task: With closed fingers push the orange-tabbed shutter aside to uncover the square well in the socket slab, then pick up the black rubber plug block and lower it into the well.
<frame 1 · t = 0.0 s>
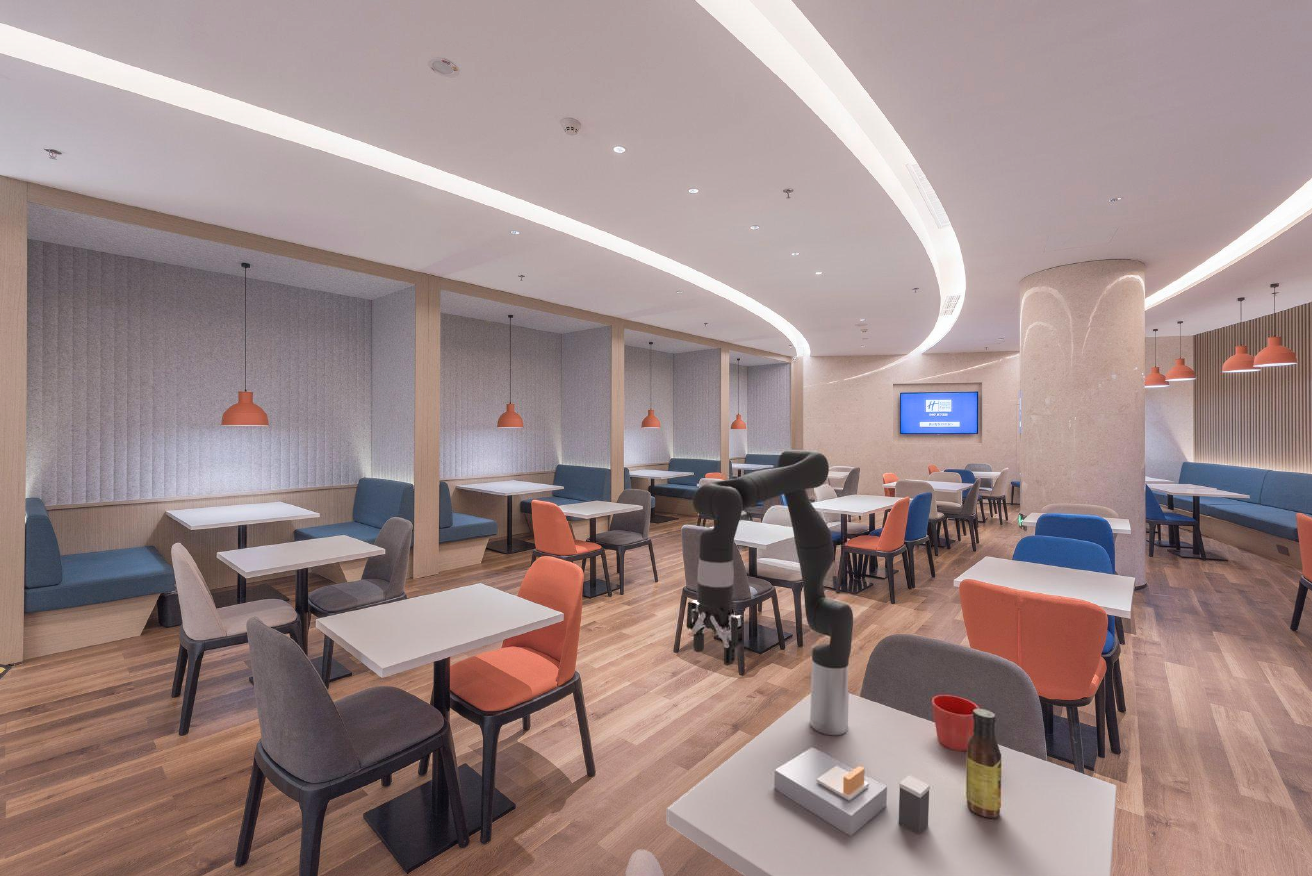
hand: (713, 657, 115), 29 cm above the table, fingers open, 8 cm apart
flower pot: (954, 743, 138), on the table
sauce bottle: (982, 810, 114), on the table
plug: (913, 824, 109), on the table
shutter: (842, 775, 114), point 6 cm above the table, slide at 0.0 cm
socket block: (829, 796, 116), on the table
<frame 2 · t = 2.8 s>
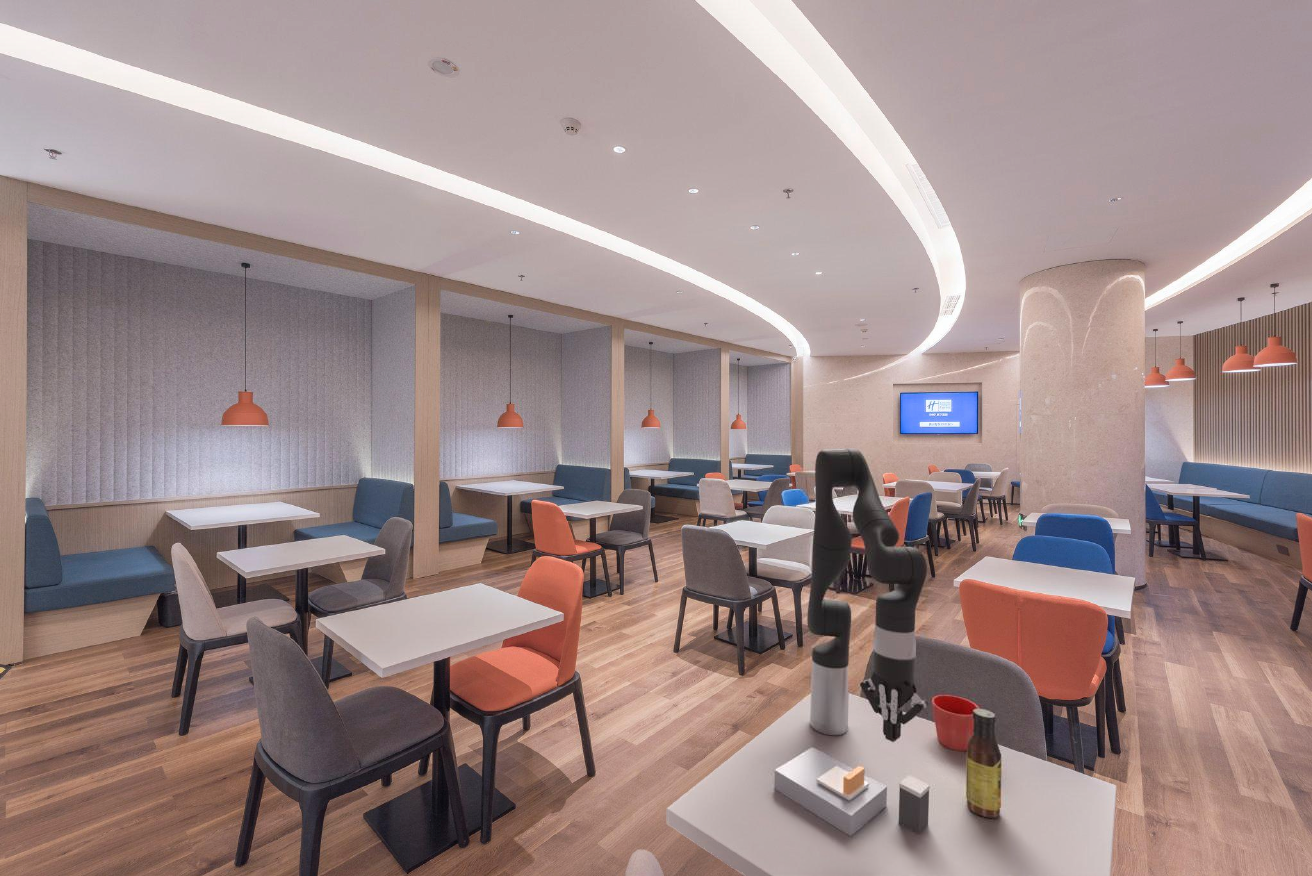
hand: (891, 739, 106), 18 cm above the table, fingers closed
nothing on the table moved.
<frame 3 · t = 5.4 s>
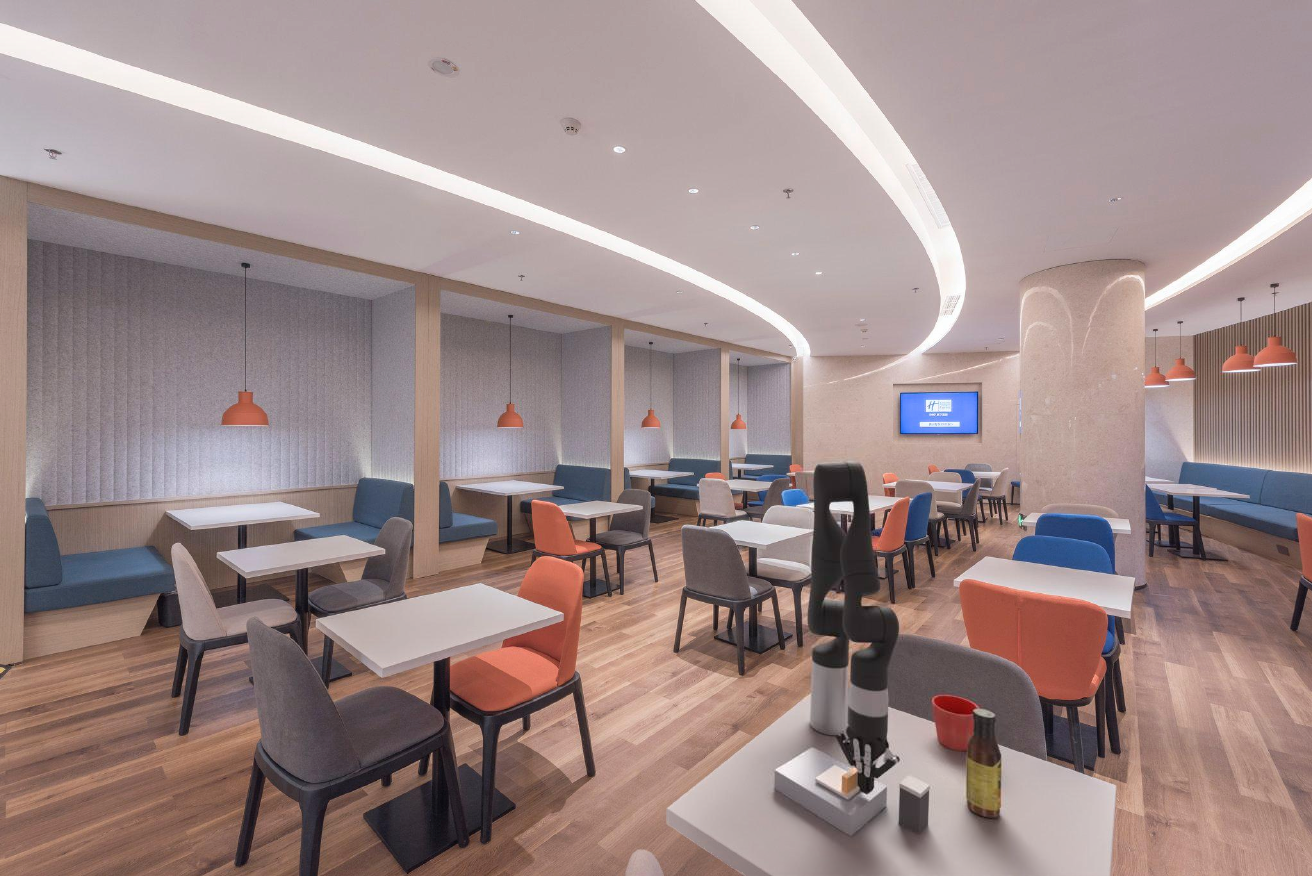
hand: (865, 791, 110), 5 cm above the table, fingers closed
shutter: (841, 774, 114), point 6 cm above the table, slide at 0.4 cm, touching gripper
everything else where it was.
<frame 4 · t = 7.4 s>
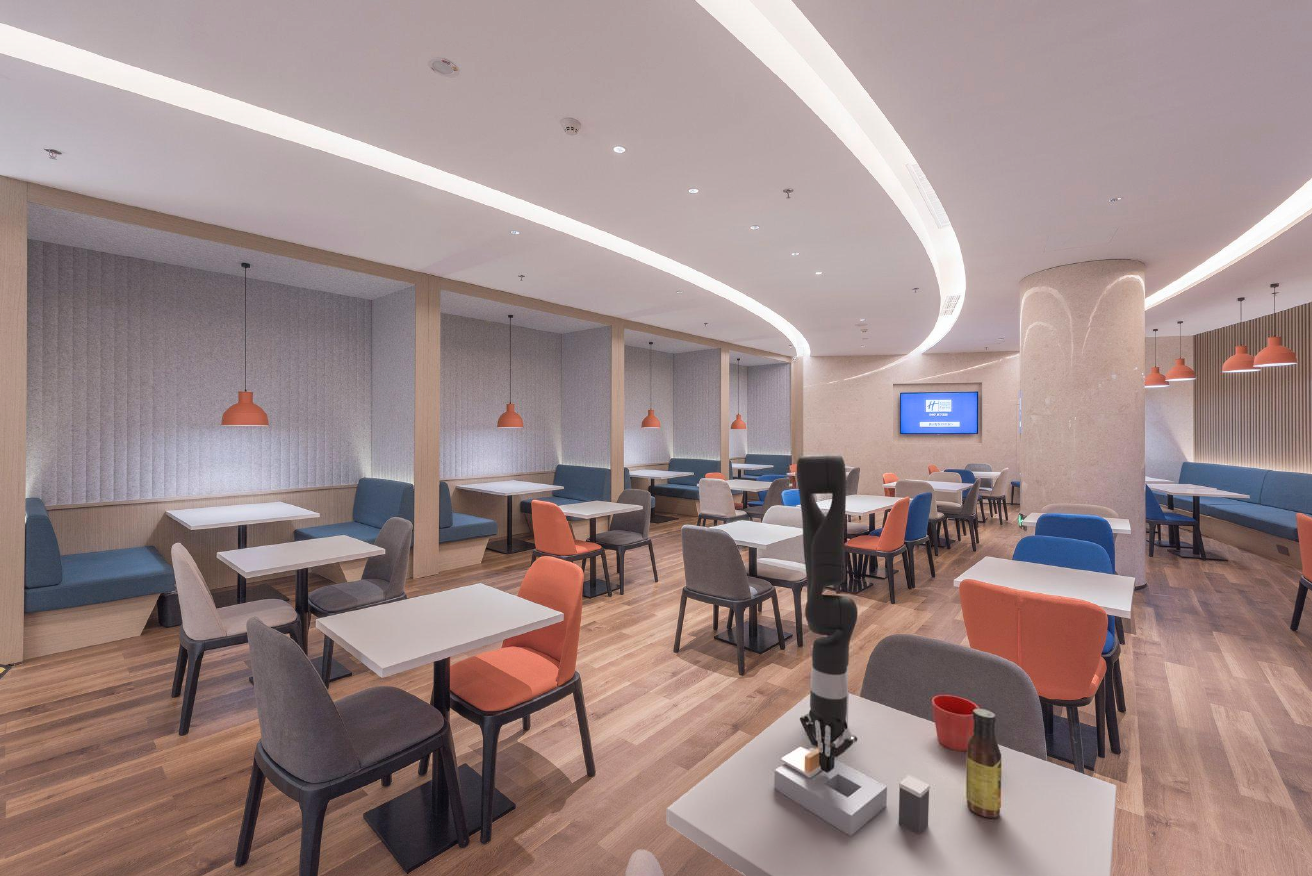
hand: (826, 769, 117), 5 cm above the table, fingers closed
shutter: (805, 754, 121), point 6 cm above the table, slide at 9.1 cm, touching gripper
everything else where it was.
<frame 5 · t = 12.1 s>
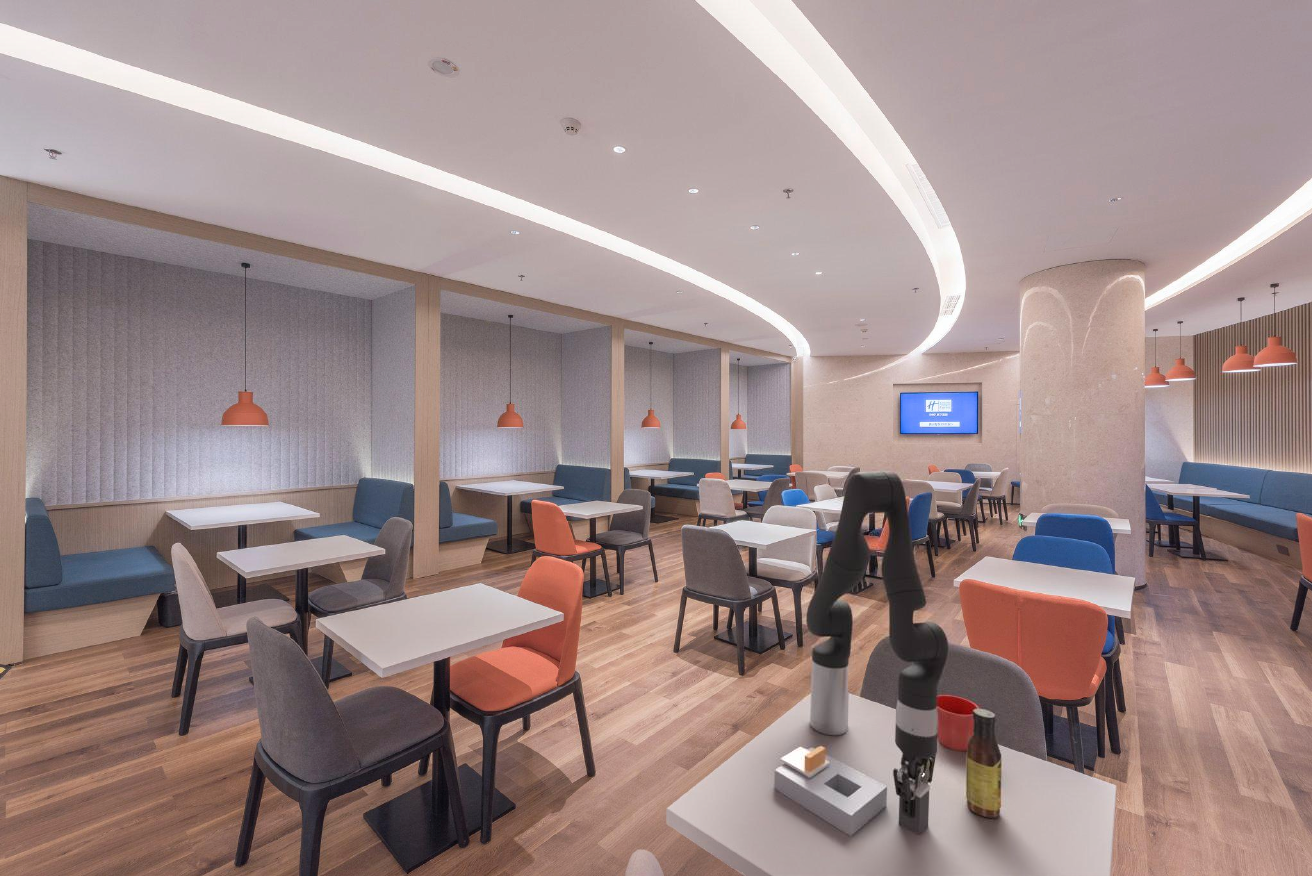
hand: (913, 810, 108), 3 cm above the table, fingers closed on plug, 4 cm apart
plug: (913, 824, 108), on the table, touching gripper
shutter: (805, 754, 121), point 6 cm above the table, slide at 9.2 cm
everything else where it was.
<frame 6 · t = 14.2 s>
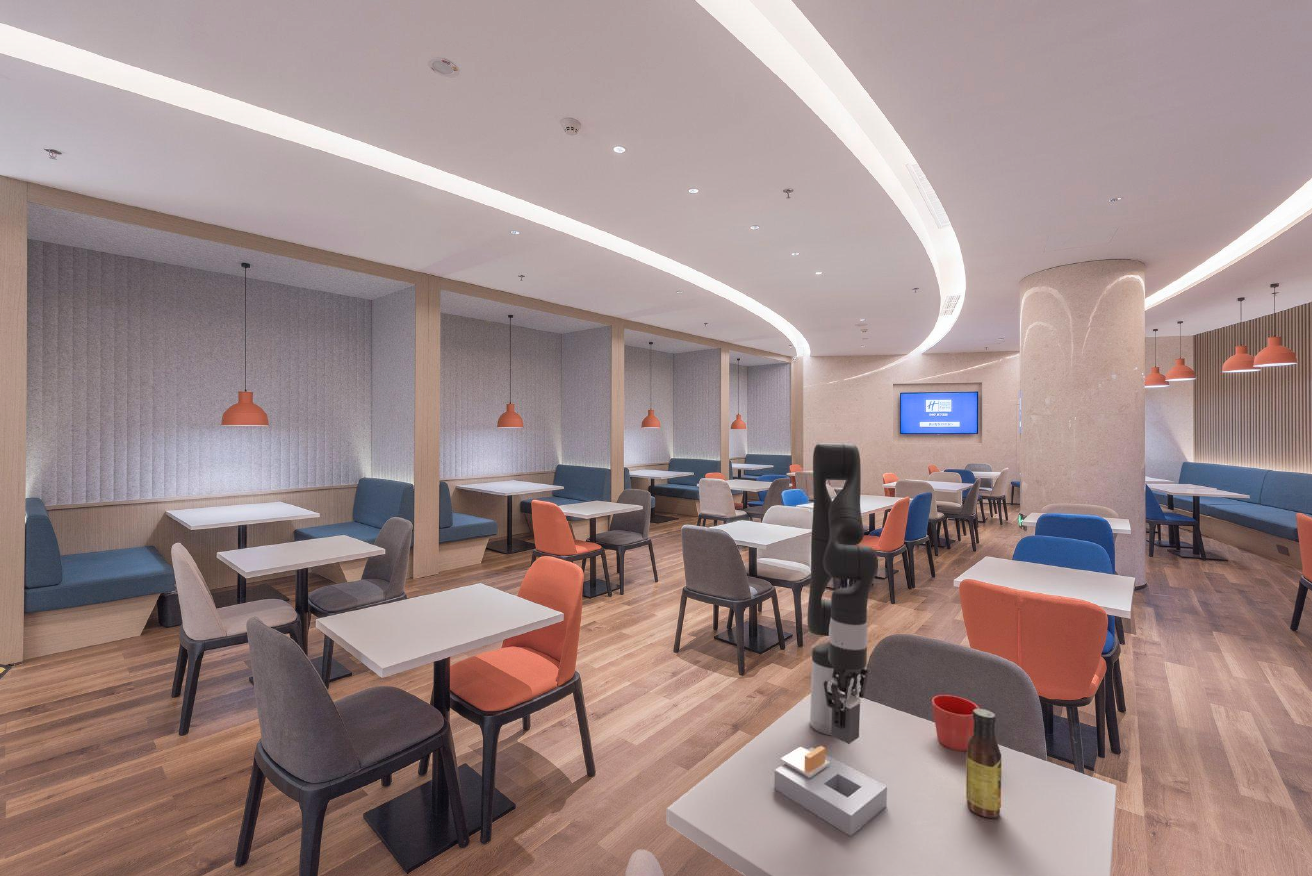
hand: (845, 723, 114), 17 cm above the table, fingers closed on plug, 4 cm apart
plug: (845, 736, 114), point 14 cm above the table, touching gripper
everything else where it was.
when the fingers open (4 cm above the table, at t = 16.4 s): plug drops 1 cm, resting on socket block.
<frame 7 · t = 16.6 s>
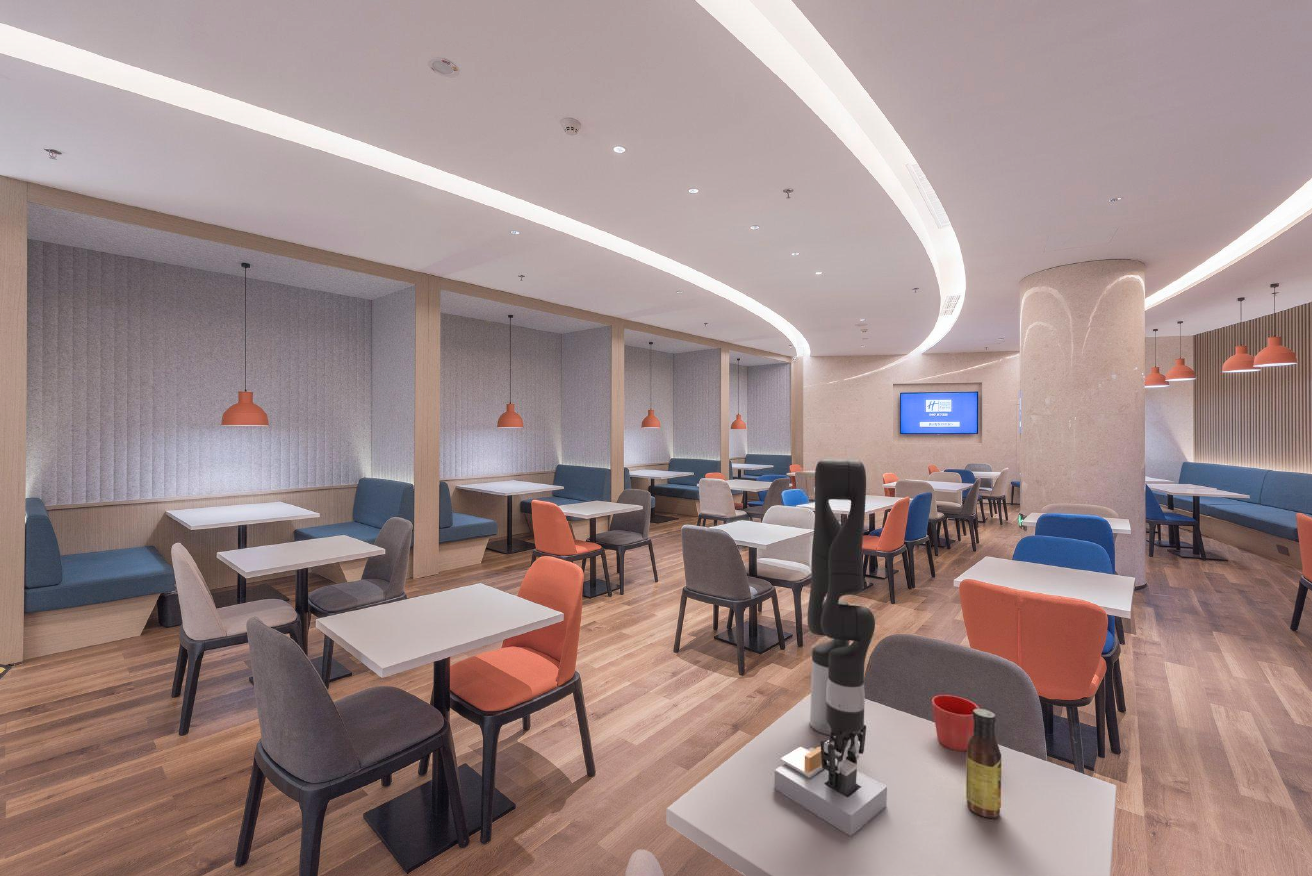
hand: (842, 781, 114), 5 cm above the table, fingers open, 6 cm apart
plug: (841, 802, 114), point 1 cm above the table, touching socket block
everything else where it was.
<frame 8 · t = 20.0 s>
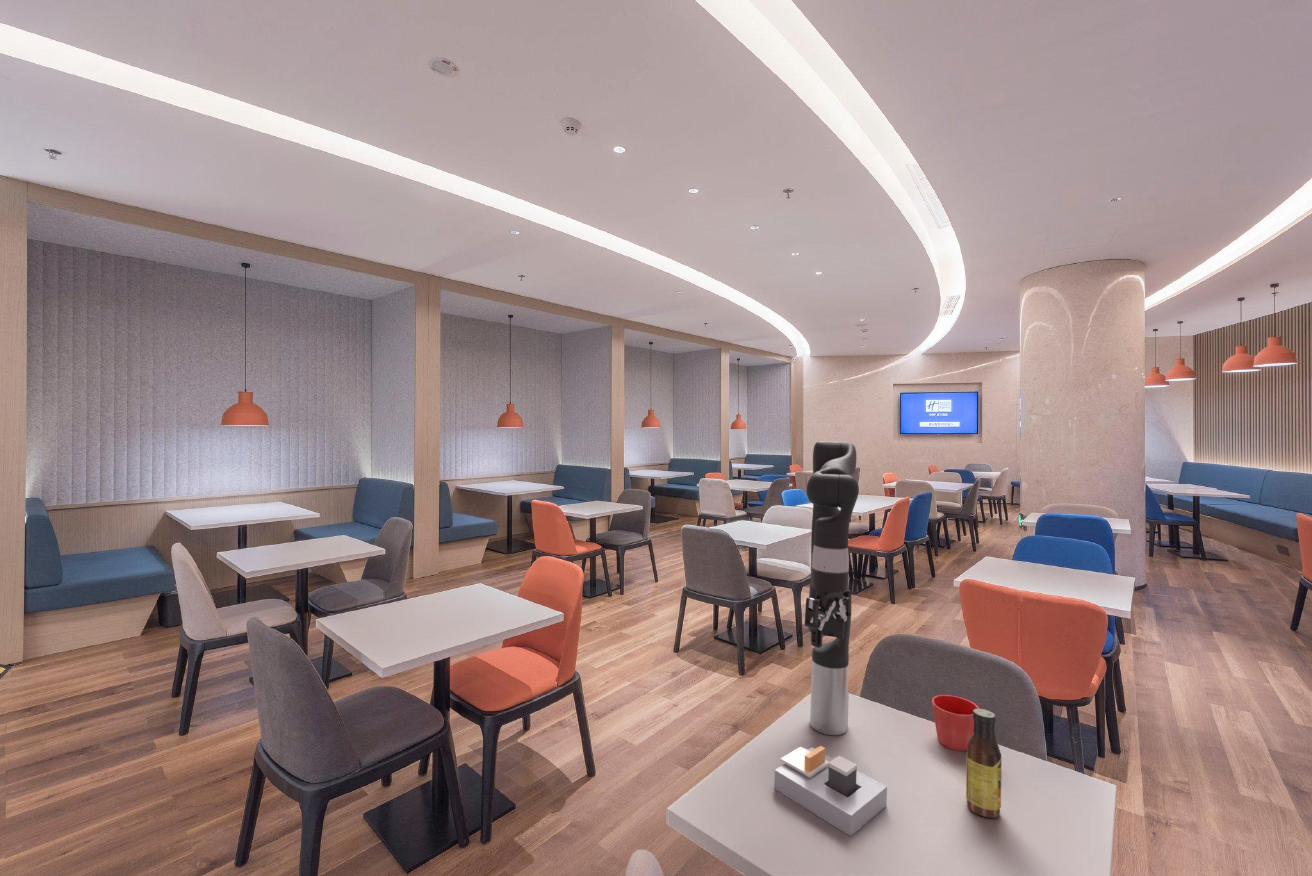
hand: (827, 642, 118), 32 cm above the table, fingers open, 8 cm apart
nothing on the table moved.
at the end: plug 0.1 cm from the target spot on the socket block, point 0.5 cm above the socket block's base; shutter slide at 9.2 cm; the gripper is holding nothing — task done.
